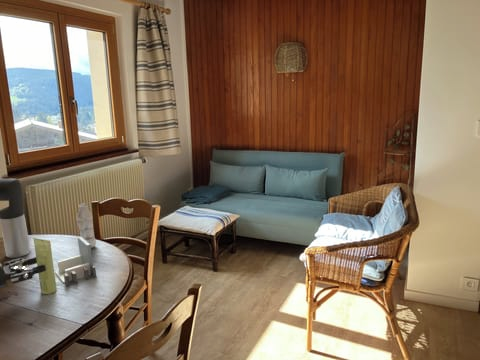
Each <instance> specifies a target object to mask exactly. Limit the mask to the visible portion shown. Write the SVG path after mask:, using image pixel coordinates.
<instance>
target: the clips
mask: <svg viewBox="0 0 480 360" xmlns="http://www.w3.org/2000/svg"><path fill="white" fill-rule="evenodd" d="M90 267H91V274H90V275H89V271H88V269H87V268H86V267H85V268H83V270H84V277H83V278H84V279H85V280H86V281H89V280H92V279H95V278H97V271H96V266H95V265H94V264H93V265H92V266H90ZM63 275H64V281H65V283H64V284H65V286H66V287H70V286H74V285H76V284H78V279H77V277H76V273H75V272H74V271H72V272H71V275H72V280H71V281H69V276H68V274H67V273H65V272H64V273H63Z"/></svg>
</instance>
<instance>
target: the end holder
mask: <svg viewBox="0 0 480 360" xmlns="http://www.w3.org/2000/svg"><path fill="white" fill-rule="evenodd" d="M77 242H78V243H77V244H78V251H79V255H75V256H72V257H69V258H65V259H64V258H63V259H62V260H57V268H58V270H56V271H55V270H54V274H55V276H57V277H58V279H59V280H60V281H61V282H62V284H63V285H64V284H65V281H64V274H65V273H67V274H68V276H69V281H71V280H72V275H71V272H72V271H74V272H75V273H76V277H77V280H78V279H82V278H85V277H84V270H83V268H85V267H86V268H87V269H88V271H89V275H90V274H91V267H90V266H92V265H93V266H94V264H93V262H94V261H93V255H92V248H91V246H90V244H89V243H88V242H87V241H86V240H84V239H83V238H82V237H81V236H77Z"/></svg>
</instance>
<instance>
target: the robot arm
mask: <svg viewBox="0 0 480 360" xmlns="http://www.w3.org/2000/svg"><path fill="white" fill-rule="evenodd" d="M0 202H8V206H6V207H4V208H2V209H0V228H1V229H0V230H1V235H2V239H3V247H4V250H5V251H4V252H5V256H6V258H9V259H10V258H11V260H8V261H5V262H3V264H2V263H0V288H2V287H5V286H6V285H7V281H11V284H17V283H20V282H24V281H28V280H32V279H33V278H34V275H37V274H38V273H41V272H44V271H46V268H45V265H40V266H37V260H36V256H34V257H31V258H24V256H26V255H28V254H30V252H31V247H30V239H29V233H28V229H27V221H26V217H25V212H24V211H25V201H24V191H23V185H22V183H21V181H20V180H19V179H18V178H11V177H10V178H0ZM13 258H15V259H13ZM32 265H36V266H34V267H30V266H32ZM28 266H29V267H28Z"/></svg>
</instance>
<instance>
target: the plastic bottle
mask: <svg viewBox="0 0 480 360" xmlns="http://www.w3.org/2000/svg"><path fill="white" fill-rule="evenodd" d="M78 210H79V211H78V212H77V214H76V221H77V224H78V228H79V235H80V236H81V237H82V238H83V239H84V240H86V241H87V242H88V243H89V244H90V246H91V249H93V248H95V247H96V244H97V240H96V238H95V233H94V229H93V227H94V225H93V213H92V212H91V211H90V210H89V205H88V203H80V204H78ZM80 236H79V237H80Z"/></svg>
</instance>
